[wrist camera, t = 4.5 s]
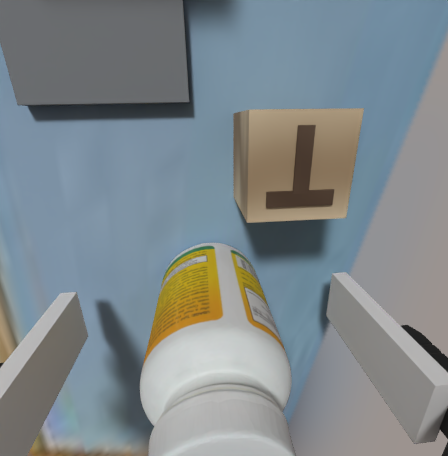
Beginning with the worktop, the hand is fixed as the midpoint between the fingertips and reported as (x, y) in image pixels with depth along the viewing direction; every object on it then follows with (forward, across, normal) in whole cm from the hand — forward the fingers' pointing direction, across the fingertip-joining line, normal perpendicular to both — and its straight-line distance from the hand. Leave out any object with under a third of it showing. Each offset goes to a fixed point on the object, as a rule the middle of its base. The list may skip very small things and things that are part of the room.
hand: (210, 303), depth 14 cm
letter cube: (+2, +4, +7) cm, 8 cm away
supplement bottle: (+2, 0, 0) cm, 2 cm away
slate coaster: (+2, -4, +13) cm, 14 cm away
